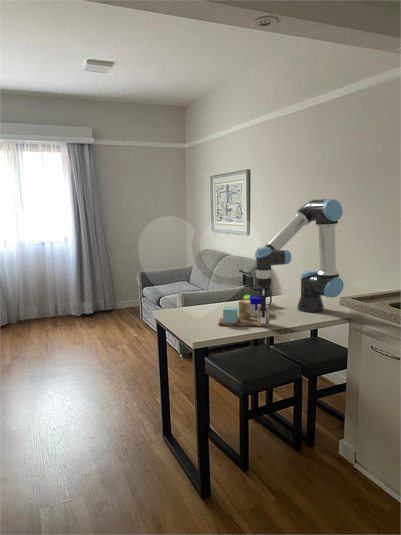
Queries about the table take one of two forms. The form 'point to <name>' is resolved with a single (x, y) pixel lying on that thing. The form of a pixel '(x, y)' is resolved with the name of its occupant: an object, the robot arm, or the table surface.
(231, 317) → the cube
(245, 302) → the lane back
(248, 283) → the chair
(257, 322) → the lane front
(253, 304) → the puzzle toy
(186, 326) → the table surface
